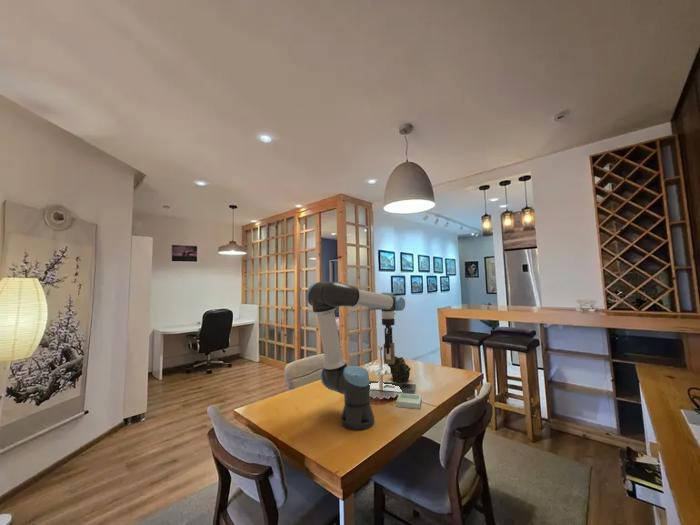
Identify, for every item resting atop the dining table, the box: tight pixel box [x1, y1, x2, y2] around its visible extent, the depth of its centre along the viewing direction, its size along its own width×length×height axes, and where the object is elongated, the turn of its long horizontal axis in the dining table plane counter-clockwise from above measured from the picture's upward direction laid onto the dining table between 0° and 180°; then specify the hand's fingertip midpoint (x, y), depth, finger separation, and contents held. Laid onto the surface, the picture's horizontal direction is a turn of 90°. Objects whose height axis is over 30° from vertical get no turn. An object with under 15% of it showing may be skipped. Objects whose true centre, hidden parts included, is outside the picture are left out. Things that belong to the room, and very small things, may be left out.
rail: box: [369, 379, 417, 394], centre depth 169 cm, size 10×30×2 cm, turn 71°
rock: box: [387, 355, 411, 383], centre depth 183 cm, size 12×9×15 cm
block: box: [383, 342, 396, 365], centre depth 168 cm, size 6×6×11 cm
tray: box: [395, 393, 423, 410], centre depth 147 cm, size 12×12×3 cm
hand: (389, 357), depth 167 cm, fingers closed on block, 5 cm apart
